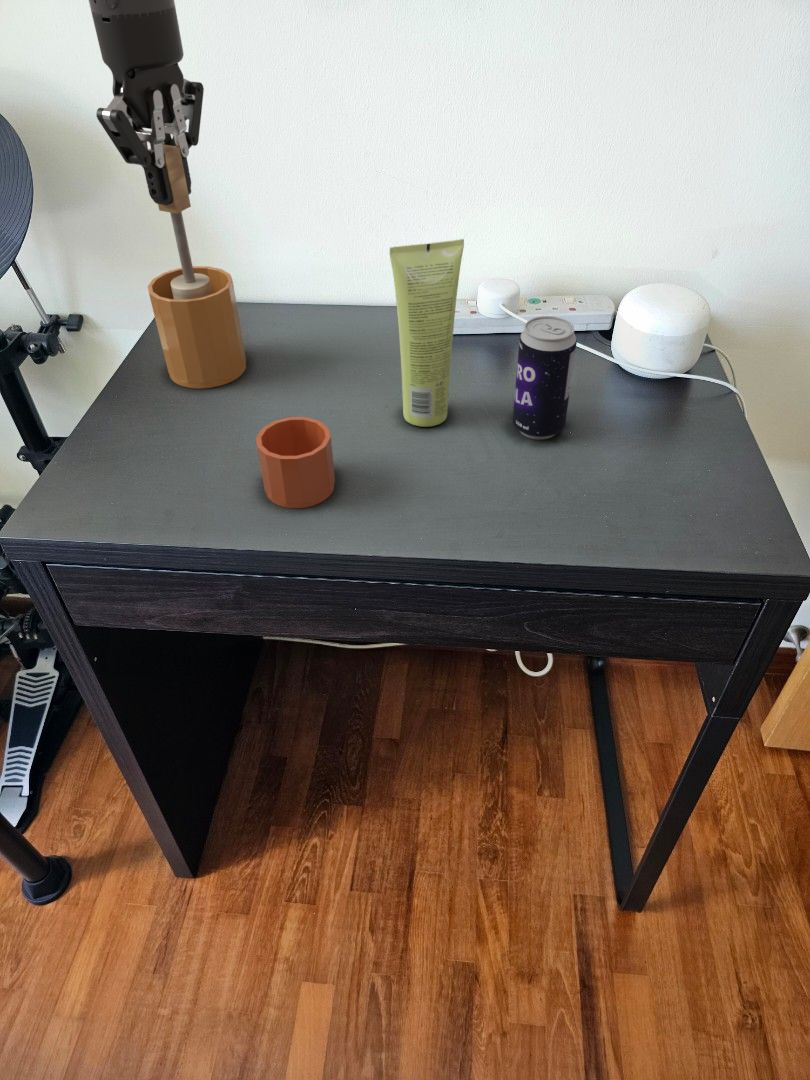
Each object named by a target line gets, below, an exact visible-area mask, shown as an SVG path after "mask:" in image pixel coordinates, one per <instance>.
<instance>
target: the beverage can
mask: <svg viewBox="0 0 810 1080" xmlns="http://www.w3.org/2000/svg"><path fill="white" fill-rule="evenodd" d="M518 340H519V341H518V351H517V364H516V374H515V385H514V398H513V409H512V424H513V426H514V427H515V428H516V429H517V430H518V431H519V432H520V433H521V434H522V435H523V436H525V437H527V438H528V439H532V440H547V439H551V438H553V437H554V436H555V435H556V434H559V433H561V432H562V431H563V430H564V428H565V427H566V422H567V416H568V407H569V402H570V401H569V400H570V394H571V387H572V386H571V385H572V379H573V372H574V364H575V357H576V351H577V343H578V340H577V336H576V334H575V326H574V325H573V323H572V322H570V321H569V320H567V319H565V318H562V317H558V316H553V315H552V316H551V315H544V316H543V315H542V316H537V317H533V318H530V319H528V321H526V323H525V324H524V329H523V330H522V332H521V333H520V335H519V339H518Z"/></svg>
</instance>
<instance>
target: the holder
mask: <svg viewBox="0 0 810 1080" xmlns="http://www.w3.org/2000/svg"><path fill="white" fill-rule="evenodd" d="M255 440H256V449H257V454H258V460H259V465H260V471H261V472H260V473H261V478H262V482H263V483H262V484H263V489H264V494H265V495H266V498H267V499H268V500H269V501H271V503H273V504H274V505H277V506H280V507H282V508H286V509H305V508H310V507H314V506H316V505H319V504H320V503H323V502H324V501H326V500H327V499H328V498H330V496H331V495H332V493H334V490H335V486H336V475H335V465H334V456H333V446H332V435H331V432H330V428H329V427H328V426H327V425H326V424H325V423H323V422H322V421H320V420H318V419H315V418H311V417H308V416H288V417H284V418H281V419H275V420H273V421H272V422H270V423H268V424H267V425H264V426H263V427H262V428H261V429H260V431H259V432H258V434H257V435H256V438H255Z"/></svg>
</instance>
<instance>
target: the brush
mask: <svg viewBox="0 0 810 1080" xmlns="http://www.w3.org/2000/svg"><path fill="white" fill-rule="evenodd" d="M162 146H163V154H164V166H166V168H167V173H168V178H169V183H170V188H171V192H172V197H173V202H172V203H171V204H169V205H162V204H157V207H158V210H159V212H166V213H169V214H170V218H171V223H172V227H173V228H172V229H173V232H174V237H175V242H176V247H177V252H178V257H179V262H180V266H181V268H182V271H183V275H180V276H178V277H176V278H174V279H173V280H172V281H171V289H172V293H173V298H174V299H178V300H188V299H195V298H202V297H205V296H208V295H211V294H212V289H211V283H210V279H209V277H208V276H206V275H204V274H199V273H194V271H193V266H194V265H193V262H192V255H191V251H190V247H189V241H188V236H187V232H186V228H185V221H184V216H183V211H185V210H187V209H189V208H191V206H192V205H191V199H190V196H189V195H190V194H188V189H187V184H186V179H185V173H184V168H183V163H182V158H181V153H180V147H177V146H170V145H164V144H162ZM148 153H151V148H148Z"/></svg>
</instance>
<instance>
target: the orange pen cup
mask: <svg viewBox="0 0 810 1080" xmlns="http://www.w3.org/2000/svg"><path fill="white" fill-rule="evenodd" d="M192 266H193V271H194V273H199V274H204V275H206V276H208V277H209V279H210V283H211V289H212V294H211V295H208V296H205V297H202V298H195V299H188V300H178V299H174V298H173V293H172V289H171V281H172V280H173V279H174V278H176V277H178V276H180V275H183V271H182V267H179V268H175V269H171V270H168V271H165V272H163V273H161V274H159V275H157V276H156V277H154V278H152V279H151V281H150V282H149V283H148V284H147V291H148V296H149V301H150V303H151V309H152V312H153V316H154V319H155V324H156V329H157V332H158V335H159V340H160V345H161V348H162V353H163V356H164V360H165V364H166V369H167V373H168V376H169V378H170V380H171V381H172V382H173V383H175V384H176V385H177V386H181V387H184V388H188V389H196V390H197V389H198V390H199V389H211V388H212V389H213V388H217V387H222V386H225V385H227V384H229V383H231V382H233V381H236V380H237V379H239V377H241V376H242V375H243V374H244V373H245V371H246V369H247V357H246V356H247V355H246V351H245V344H244V339H243V333H242V326H241V322H240V316H239V309H238V304H237V297H236V292H235V286H234V285H235V284H234V280H233V277H232V275H231V273H229V272H227V271H226V270H224V269H222V268H218V267H213V266H206V265H204V266H202V265H201V266H200V265H199V266H198V265H192Z"/></svg>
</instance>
